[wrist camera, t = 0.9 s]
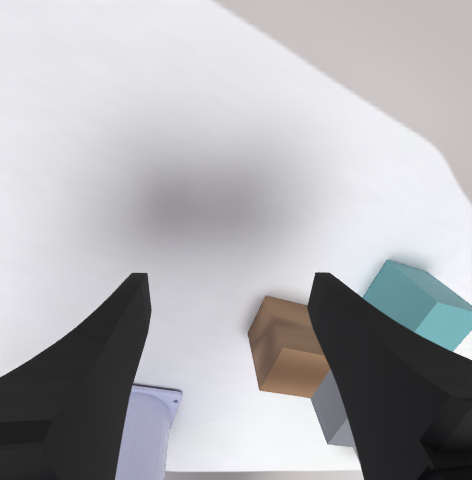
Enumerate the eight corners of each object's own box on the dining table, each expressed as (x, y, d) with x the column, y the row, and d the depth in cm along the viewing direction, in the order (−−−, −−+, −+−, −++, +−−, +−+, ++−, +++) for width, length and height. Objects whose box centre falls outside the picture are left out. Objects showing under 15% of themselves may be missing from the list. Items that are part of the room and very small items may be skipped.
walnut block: (289, 341, 28) (311, 398, 23) (247, 333, 27) (259, 390, 22) (310, 306, 27) (337, 358, 21) (265, 295, 25) (283, 347, 20)
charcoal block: (340, 391, 32) (368, 448, 27) (305, 385, 31) (327, 444, 26) (360, 363, 31) (394, 418, 25) (324, 356, 30) (351, 412, 24)
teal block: (399, 309, 28) (446, 358, 23) (361, 299, 27) (401, 348, 22) (426, 271, 26) (484, 315, 21) (387, 259, 25) (437, 302, 20)
